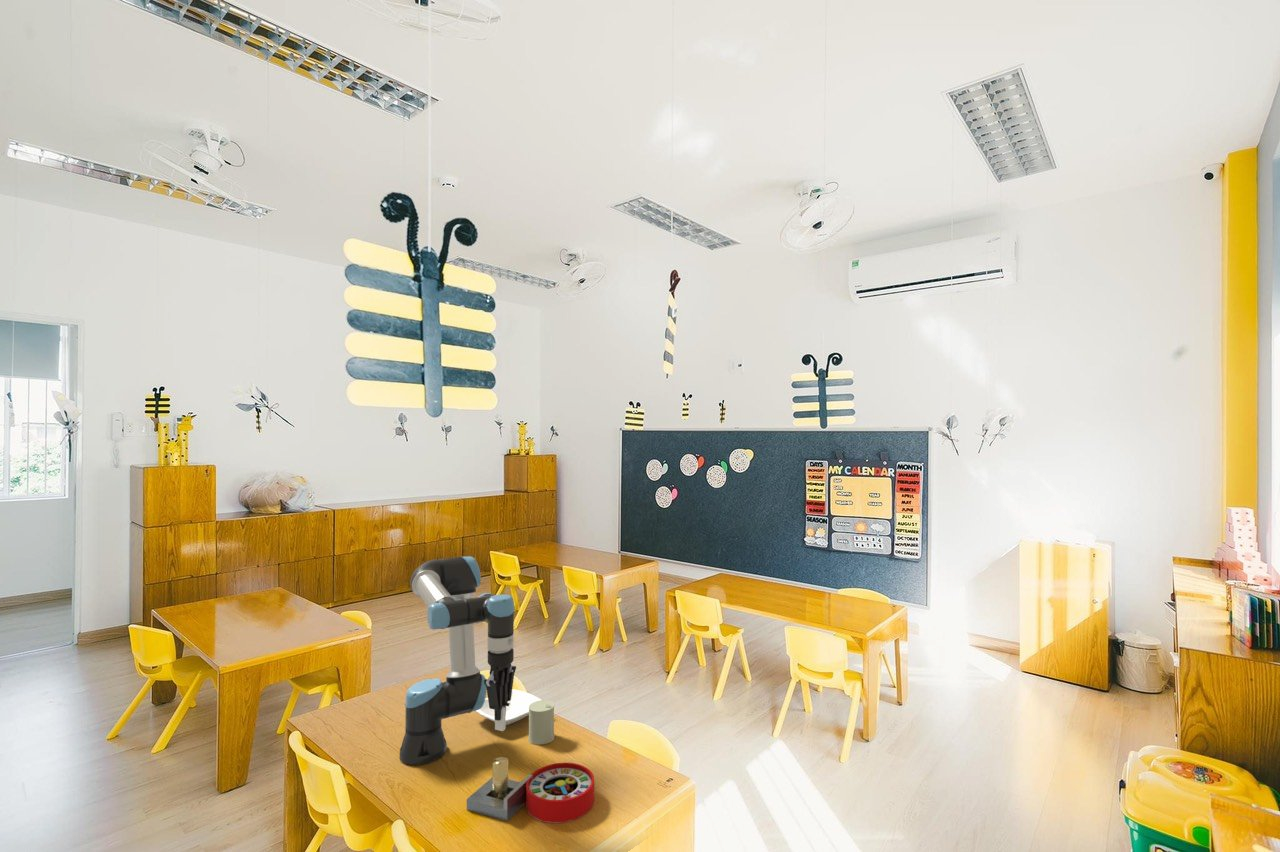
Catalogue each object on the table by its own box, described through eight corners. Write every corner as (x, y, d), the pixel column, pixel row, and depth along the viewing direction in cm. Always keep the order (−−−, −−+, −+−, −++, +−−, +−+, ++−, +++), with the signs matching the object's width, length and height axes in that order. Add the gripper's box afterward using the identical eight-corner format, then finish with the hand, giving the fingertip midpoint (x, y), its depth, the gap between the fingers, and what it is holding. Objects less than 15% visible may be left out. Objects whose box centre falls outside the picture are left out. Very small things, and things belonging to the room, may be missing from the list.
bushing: (502, 808, 169) (502, 766, 169) (489, 805, 171) (489, 763, 171) (511, 799, 173) (511, 758, 174) (498, 796, 175) (498, 755, 175)
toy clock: (582, 756, 186) (603, 790, 167) (582, 775, 186) (603, 811, 167) (519, 771, 178) (534, 808, 159) (519, 790, 178) (534, 830, 159)
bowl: (465, 721, 223) (465, 705, 223) (514, 700, 241) (514, 686, 241) (499, 740, 208) (500, 724, 209) (550, 717, 226) (550, 702, 226)
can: (549, 746, 204) (549, 711, 205) (524, 743, 206) (524, 709, 206) (558, 733, 213) (558, 699, 214) (534, 730, 215) (534, 697, 215)
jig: (466, 809, 169) (466, 788, 169) (494, 785, 181) (494, 765, 181) (507, 821, 163) (507, 799, 163) (532, 795, 175) (532, 775, 176)
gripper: (497, 658, 166) (497, 742, 165) (523, 643, 178) (523, 721, 177) (476, 654, 169) (475, 737, 168) (503, 640, 181) (502, 717, 180)
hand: (500, 729), depth 173 cm, fingers closed
